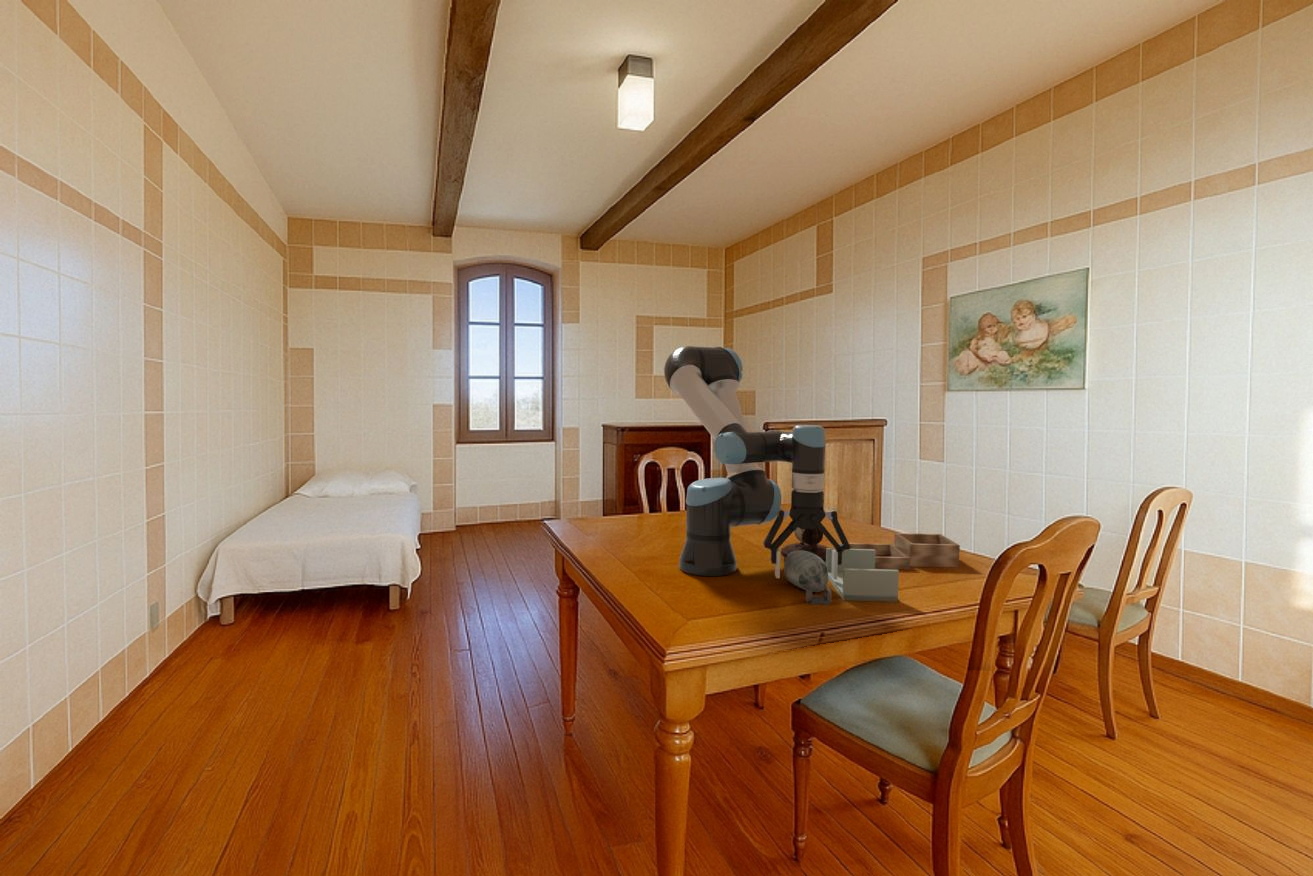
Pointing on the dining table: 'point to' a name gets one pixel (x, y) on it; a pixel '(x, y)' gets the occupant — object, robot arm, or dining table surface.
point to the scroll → (807, 543)
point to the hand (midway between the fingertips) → (805, 577)
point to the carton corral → (928, 549)
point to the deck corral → (893, 562)
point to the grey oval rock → (806, 570)
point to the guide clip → (818, 597)
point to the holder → (862, 577)
